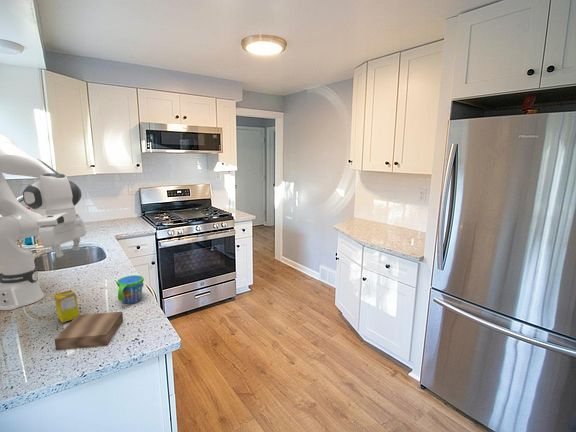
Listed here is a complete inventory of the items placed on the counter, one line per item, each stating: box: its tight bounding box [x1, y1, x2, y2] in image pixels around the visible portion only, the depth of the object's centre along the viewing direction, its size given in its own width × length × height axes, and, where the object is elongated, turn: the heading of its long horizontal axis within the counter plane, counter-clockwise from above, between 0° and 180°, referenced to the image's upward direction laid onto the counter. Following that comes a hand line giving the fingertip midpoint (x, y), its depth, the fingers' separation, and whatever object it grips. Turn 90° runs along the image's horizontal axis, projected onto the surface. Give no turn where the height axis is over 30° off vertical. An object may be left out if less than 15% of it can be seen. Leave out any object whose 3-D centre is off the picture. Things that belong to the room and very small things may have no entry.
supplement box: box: [53, 289, 80, 325], centre depth 122 cm, size 6×6×11 cm
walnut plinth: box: [54, 311, 124, 351], centre depth 112 cm, size 16×16×4 cm
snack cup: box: [116, 274, 144, 304], centre depth 138 cm, size 16×10×10 cm
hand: (68, 253), depth 115 cm, fingers open, 8 cm apart
